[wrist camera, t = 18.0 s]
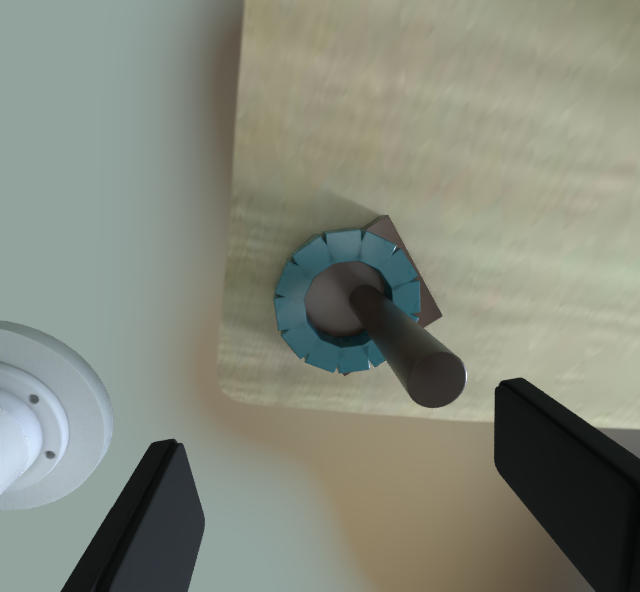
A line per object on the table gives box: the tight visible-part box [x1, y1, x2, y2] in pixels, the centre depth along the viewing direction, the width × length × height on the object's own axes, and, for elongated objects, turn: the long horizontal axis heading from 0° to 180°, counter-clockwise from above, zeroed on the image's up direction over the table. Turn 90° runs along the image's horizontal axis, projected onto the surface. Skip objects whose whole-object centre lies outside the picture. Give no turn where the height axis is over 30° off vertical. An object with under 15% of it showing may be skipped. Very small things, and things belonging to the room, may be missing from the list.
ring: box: [274, 228, 420, 373], centre depth 23 cm, size 10×10×2 cm
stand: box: [304, 215, 467, 408], centre depth 19 cm, size 9×9×14 cm
